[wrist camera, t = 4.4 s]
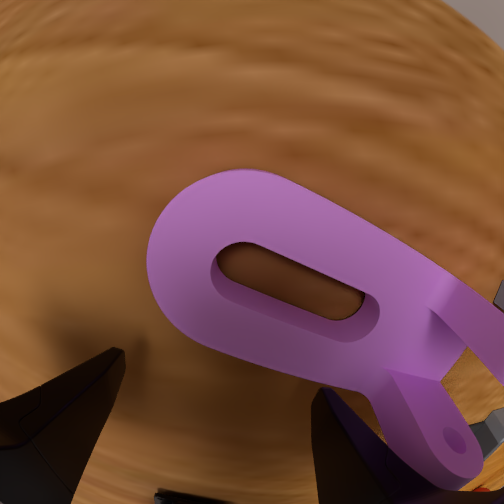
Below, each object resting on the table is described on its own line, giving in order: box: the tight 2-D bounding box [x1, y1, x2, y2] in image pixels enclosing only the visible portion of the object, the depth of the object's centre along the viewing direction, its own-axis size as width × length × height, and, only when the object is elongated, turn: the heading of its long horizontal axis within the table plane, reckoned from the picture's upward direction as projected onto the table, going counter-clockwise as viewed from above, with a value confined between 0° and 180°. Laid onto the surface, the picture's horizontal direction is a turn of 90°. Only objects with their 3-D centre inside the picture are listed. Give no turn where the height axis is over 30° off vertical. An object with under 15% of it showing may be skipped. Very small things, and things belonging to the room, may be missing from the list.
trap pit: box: [469, 421, 504, 462], centre depth 13 cm, size 8×8×3 cm
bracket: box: [147, 169, 504, 491], centre depth 6 cm, size 13×6×7 cm, turn 65°
